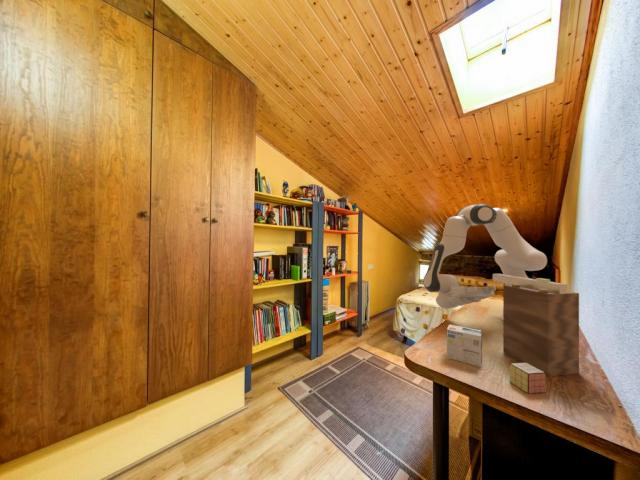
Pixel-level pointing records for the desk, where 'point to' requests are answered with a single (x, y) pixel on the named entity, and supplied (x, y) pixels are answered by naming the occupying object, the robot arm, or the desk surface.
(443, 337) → the desk surface
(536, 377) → the puzzle toy
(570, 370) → the plinth
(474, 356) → the light bulb box
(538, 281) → the sighting bar
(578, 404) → the desk surface
